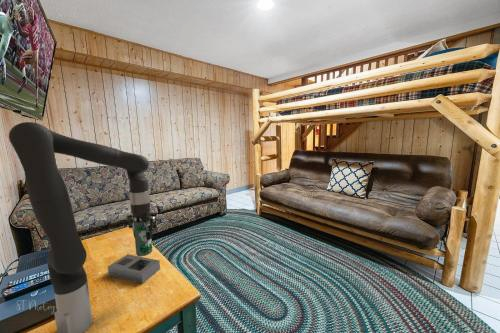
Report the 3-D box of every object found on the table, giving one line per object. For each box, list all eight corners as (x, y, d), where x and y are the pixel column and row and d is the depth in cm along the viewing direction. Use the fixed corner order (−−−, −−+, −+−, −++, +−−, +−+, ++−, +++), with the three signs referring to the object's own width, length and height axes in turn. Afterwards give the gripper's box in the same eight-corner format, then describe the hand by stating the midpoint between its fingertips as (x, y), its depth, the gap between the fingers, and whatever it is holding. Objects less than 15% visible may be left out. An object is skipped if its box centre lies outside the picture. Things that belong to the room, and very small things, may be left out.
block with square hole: (142, 283, 102) (141, 274, 101) (108, 275, 108) (107, 266, 107) (160, 269, 113) (159, 260, 112) (128, 262, 119) (127, 253, 119)
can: (145, 257, 89) (143, 223, 87) (133, 255, 91) (130, 222, 89) (154, 249, 95) (152, 217, 93) (143, 248, 96) (140, 217, 94)
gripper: (119, 202, 88) (123, 240, 91) (147, 205, 84) (150, 244, 86) (134, 197, 95) (137, 232, 98) (160, 200, 91) (162, 236, 93)
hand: (143, 238), depth 92 cm, fingers closed on can, 6 cm apart
